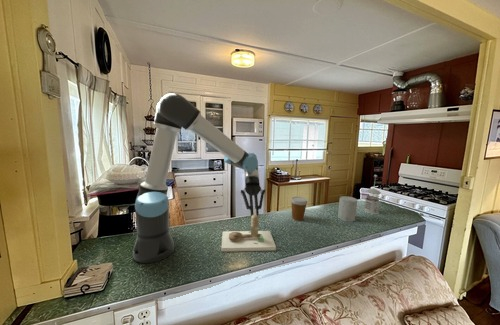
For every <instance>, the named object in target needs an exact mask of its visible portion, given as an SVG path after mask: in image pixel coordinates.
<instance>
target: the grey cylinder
mask: <svg viewBox="0 0 500 325" xmlns="http://www.w3.org/2000/svg"><path fill="white" fill-rule="evenodd" d="M357 206H358V199H357V198H355V197H353V196H347V195H342V196H341V195H340V196H339V202H338V211H337V219H339V218H340V219H341V221H343V220H344V222H347V221H348V222H347V223H352V222H353V221H354V222H355V221H356V214H357ZM340 219H339V220H340Z"/></svg>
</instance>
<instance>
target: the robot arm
mask: <svg viewBox="0 0 500 325" xmlns="http://www.w3.org/2000/svg"><path fill="white" fill-rule="evenodd" d="M153 124H154V126H155V133H154V138H153V143H152V147H151V153H150V157H149V160H148V165H147V169H146V170H147V171H146V176H145V180H144V181H142V182H141V183H140V185H139V189H138V193H137V195H136V198H135V204H134V209H135V219H136V221H135V222H136V239H135V243H134V246H133V250H132V258H133V259H134V261H135V262H138V263H140V264H153V263H157V262H159V261H162V259H163V260H165V259H166V257H167V258H168V257H170V256H171V255H172V254H173V252H174V250H175V241H174V239H173V237H172V234H171V231H170V208H169V206H170V201H169V197H168V190H169V186H168V185H167V180H168V179H167V178H168V174H169V170H170V167H171V166H170V165H171V161H172V158H173V157H172V156H173V152H174V149H175V148H174V147H175V143H176V140H177V139H176V137H177V134H178V133H179V132H181V131H182V128H183V129H184V130H186V131H190V132H192V133H194V135H196V136H197V137H199V138H200V139H202V140H203V141H204V142H206V143H207V144H208V145H210V146H211V147H212V148H213V149H215V150H216V151H218V153H221V154H222V155H224V158H223V160H224V163H226V164H228V165H231V166H234V167H237V168H239V169H241V170H243V171H244V185H245V186H244V189H241V190H240V195H241V196H242V199H243V201H244V204H245V208H246V209H247V210H249V211H250V217H252V215H258V216H259V210H261V209H262V207H263V203H264V202H263V201H264V196H265V194H266V189H262V187H261V184H260V176H259V175H260V173H259V161H258V158H257V155H256V154H255V153H254V152H247V151H246V150H244V149H243V148H242V147H241V146H239V145H238V144H237V143H236V142H235V141H233V140H232V139H231V138H230V137H229V136H227V135H226V134H224V132H223V131H221V130H220V129H219V128H217V127H216V126H215V125H214V124H213V123H212V122H210V120H208V119H207V118H205V117H204V116H203V115H202V111H201V110H199V109H198V108H197V107H196V106H195V105H193V103H192V102H190V101H189V100H188V99H186V98H185V97H184V96H183V95H182V94H179V93H173V92H170V93H167V94H165V95H163V96H162V97H161V98H160V100H158V102H157V104H156V106H155V114H154V121H153ZM259 193H260V200H258V199H259V198H258V195H259ZM246 194H247V195H248V197H249V200H248V198H247V195H246ZM253 198H254V201H253ZM254 207H255V208H254ZM169 255H170V256H169Z"/></svg>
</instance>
